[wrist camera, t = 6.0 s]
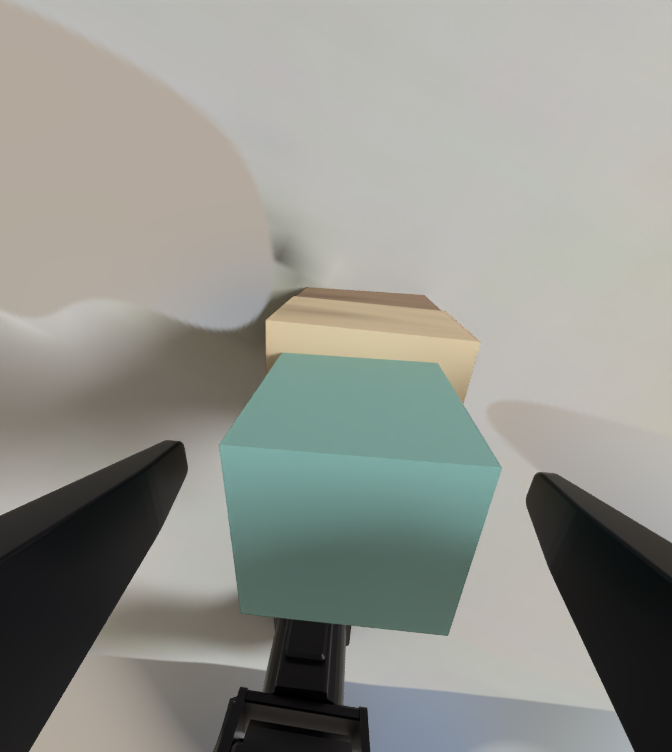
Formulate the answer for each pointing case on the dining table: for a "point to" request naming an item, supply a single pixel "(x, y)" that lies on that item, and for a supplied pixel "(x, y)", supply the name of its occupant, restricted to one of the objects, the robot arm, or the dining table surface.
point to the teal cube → (356, 493)
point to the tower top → (372, 335)
